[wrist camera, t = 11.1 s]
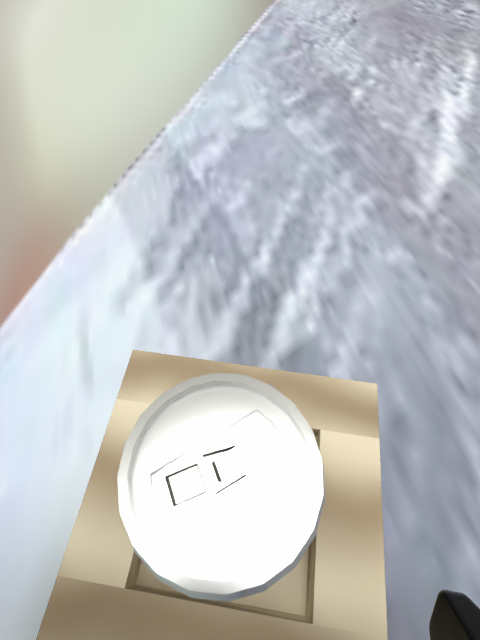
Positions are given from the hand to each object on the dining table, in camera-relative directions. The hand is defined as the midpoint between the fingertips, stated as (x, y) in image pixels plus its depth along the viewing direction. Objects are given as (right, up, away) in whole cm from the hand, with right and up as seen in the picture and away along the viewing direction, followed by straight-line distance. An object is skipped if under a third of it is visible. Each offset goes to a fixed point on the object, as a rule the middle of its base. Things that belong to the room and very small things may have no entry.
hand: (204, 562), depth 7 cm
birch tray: (0, -6, +13) cm, 14 cm away
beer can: (0, -5, +12) cm, 13 cm away
